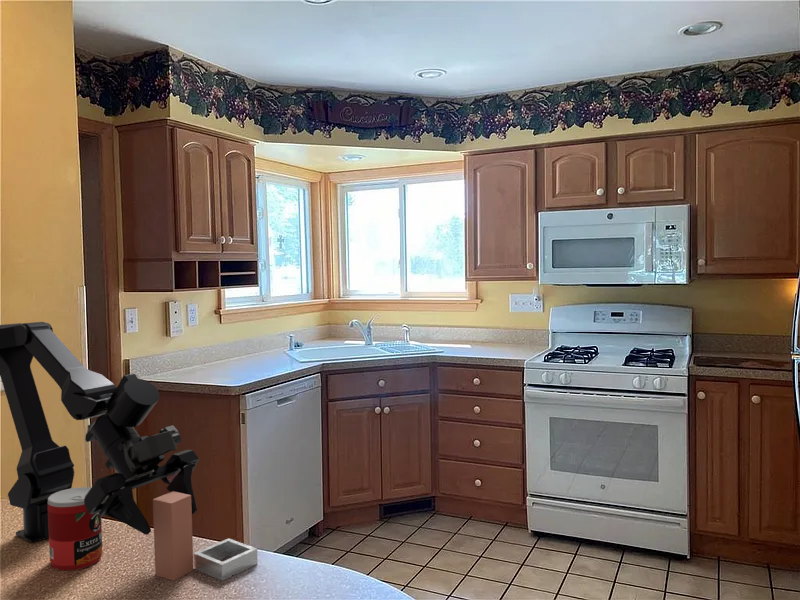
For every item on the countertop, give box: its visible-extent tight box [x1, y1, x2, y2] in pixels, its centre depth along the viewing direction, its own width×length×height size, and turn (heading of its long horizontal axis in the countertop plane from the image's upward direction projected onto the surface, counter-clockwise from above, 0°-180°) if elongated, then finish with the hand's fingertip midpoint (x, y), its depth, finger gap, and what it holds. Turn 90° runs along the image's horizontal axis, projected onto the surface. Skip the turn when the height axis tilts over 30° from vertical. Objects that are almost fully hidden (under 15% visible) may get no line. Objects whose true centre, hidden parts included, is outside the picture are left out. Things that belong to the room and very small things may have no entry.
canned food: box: [48, 486, 103, 571], centre depth 107 cm, size 8×8×11 cm
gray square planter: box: [193, 538, 258, 581], centre depth 105 cm, size 7×7×2 cm
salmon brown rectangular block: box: [152, 491, 194, 581], centre depth 103 cm, size 4×4×12 cm
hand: (172, 522), depth 102 cm, fingers open, 9 cm apart
